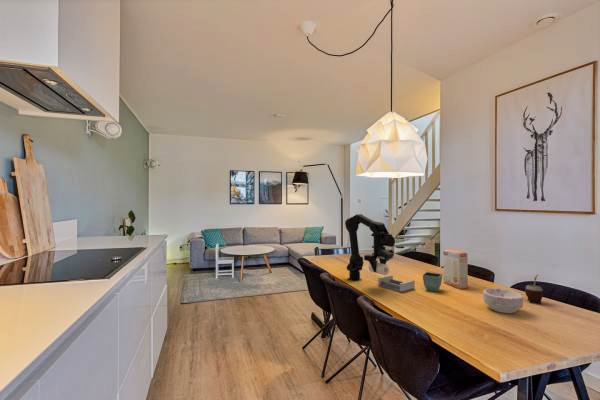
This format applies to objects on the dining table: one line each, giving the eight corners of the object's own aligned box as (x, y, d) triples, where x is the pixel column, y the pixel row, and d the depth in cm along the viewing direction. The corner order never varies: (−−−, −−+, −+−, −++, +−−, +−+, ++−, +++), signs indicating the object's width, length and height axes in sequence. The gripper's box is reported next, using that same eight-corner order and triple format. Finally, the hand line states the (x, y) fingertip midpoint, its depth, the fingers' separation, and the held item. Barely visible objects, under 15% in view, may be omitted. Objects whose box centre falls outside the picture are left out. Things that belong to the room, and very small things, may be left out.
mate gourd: (531, 299, 152) (531, 270, 152) (548, 304, 144) (548, 273, 144) (521, 300, 150) (521, 271, 150) (538, 306, 142) (537, 274, 142)
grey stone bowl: (505, 317, 128) (505, 299, 128) (475, 305, 143) (475, 289, 143) (531, 314, 132) (531, 296, 132) (500, 302, 147) (500, 286, 147)
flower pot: (439, 293, 162) (439, 277, 162) (422, 290, 167) (422, 274, 167) (442, 289, 169) (442, 274, 169) (426, 287, 174) (426, 271, 174)
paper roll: (368, 272, 174) (368, 262, 174) (375, 270, 177) (375, 260, 177) (382, 275, 165) (382, 265, 165) (389, 274, 169) (389, 263, 169)
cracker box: (468, 288, 170) (468, 252, 170) (459, 289, 169) (458, 253, 169) (451, 282, 184) (451, 248, 184) (443, 282, 183) (442, 249, 183)
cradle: (378, 286, 177) (378, 277, 177) (391, 282, 183) (391, 274, 183) (401, 293, 163) (401, 284, 163) (414, 289, 170) (414, 280, 170)
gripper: (378, 247, 159) (378, 276, 159) (400, 244, 170) (400, 272, 170) (363, 245, 169) (363, 272, 169) (385, 242, 179) (385, 268, 179)
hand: (378, 271), depth 171 cm, fingers closed on paper roll, 6 cm apart
